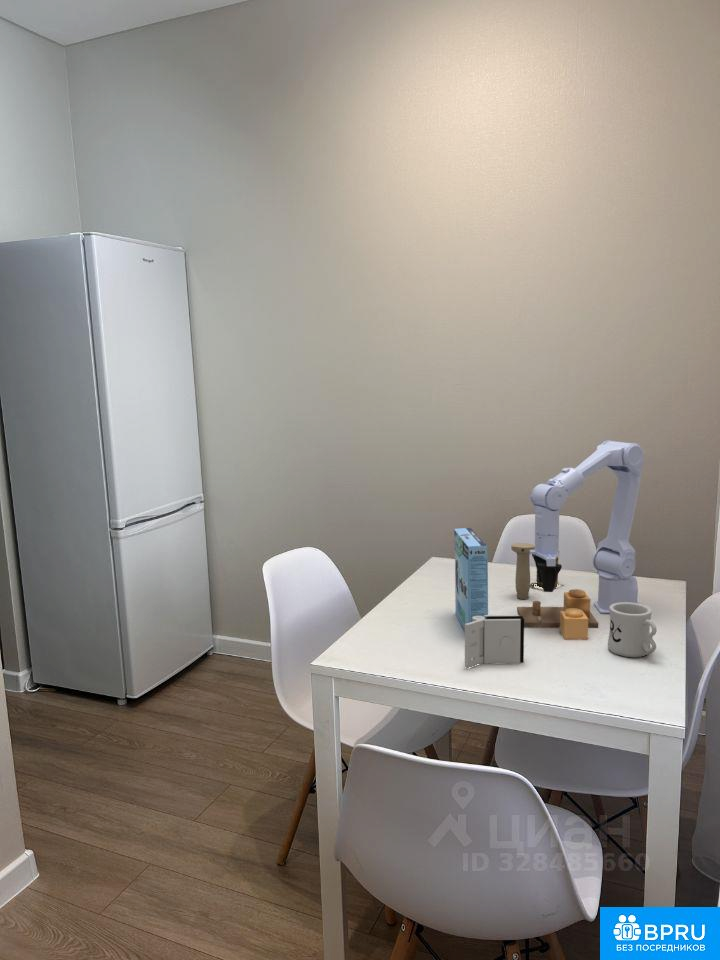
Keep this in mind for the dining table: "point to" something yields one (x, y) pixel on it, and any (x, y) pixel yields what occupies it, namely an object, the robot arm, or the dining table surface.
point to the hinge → (494, 639)
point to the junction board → (557, 611)
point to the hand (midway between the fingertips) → (545, 586)
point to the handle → (522, 568)
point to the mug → (631, 630)
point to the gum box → (470, 575)
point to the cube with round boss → (573, 624)
